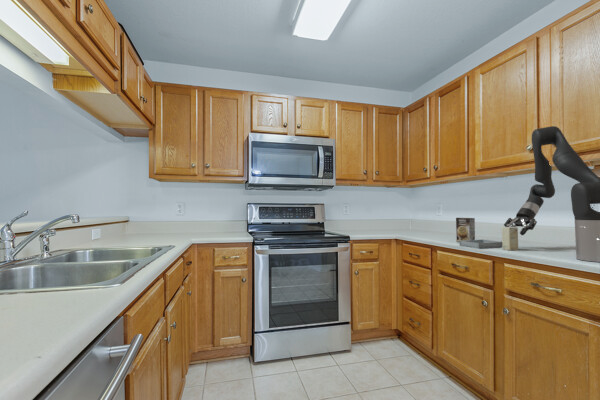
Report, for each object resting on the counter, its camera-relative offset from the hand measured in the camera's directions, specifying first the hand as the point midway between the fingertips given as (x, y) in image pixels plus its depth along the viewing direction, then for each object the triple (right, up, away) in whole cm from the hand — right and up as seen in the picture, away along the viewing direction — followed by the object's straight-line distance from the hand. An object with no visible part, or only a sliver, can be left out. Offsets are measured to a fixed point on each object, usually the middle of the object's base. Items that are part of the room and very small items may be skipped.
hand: (513, 233), depth 151 cm
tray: (-9, -9, +13) cm, 18 cm away
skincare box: (-2, -9, -1) cm, 9 cm away
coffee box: (-7, -10, +32) cm, 34 cm away
